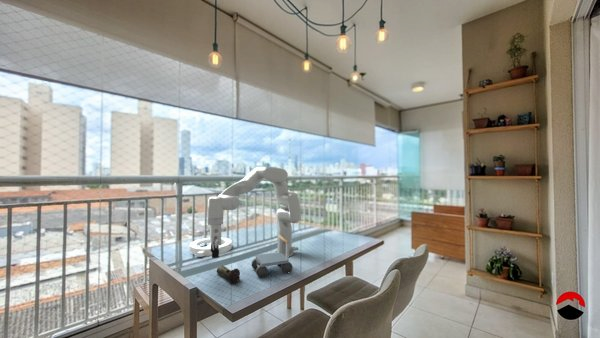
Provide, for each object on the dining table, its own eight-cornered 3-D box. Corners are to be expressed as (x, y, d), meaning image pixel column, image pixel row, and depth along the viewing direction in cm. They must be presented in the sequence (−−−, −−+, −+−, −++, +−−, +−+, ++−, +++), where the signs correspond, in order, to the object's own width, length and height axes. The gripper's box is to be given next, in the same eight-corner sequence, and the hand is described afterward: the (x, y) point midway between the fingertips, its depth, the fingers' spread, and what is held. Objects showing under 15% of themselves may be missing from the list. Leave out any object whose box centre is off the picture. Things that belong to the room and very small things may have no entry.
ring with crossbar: (221, 241, 190) (221, 235, 190) (238, 250, 170) (238, 243, 170) (183, 248, 171) (184, 242, 171) (198, 259, 151) (198, 252, 151)
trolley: (284, 263, 145) (284, 234, 145) (292, 273, 132) (293, 240, 132) (251, 268, 137) (251, 237, 137) (256, 279, 124) (257, 245, 124)
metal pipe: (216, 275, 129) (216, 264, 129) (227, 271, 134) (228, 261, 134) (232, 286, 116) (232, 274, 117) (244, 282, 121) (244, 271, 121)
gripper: (225, 223, 116) (224, 259, 116) (221, 217, 132) (220, 248, 132) (208, 224, 113) (207, 261, 113) (207, 218, 129) (206, 250, 129)
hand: (214, 254), depth 122 cm, fingers open, 9 cm apart
